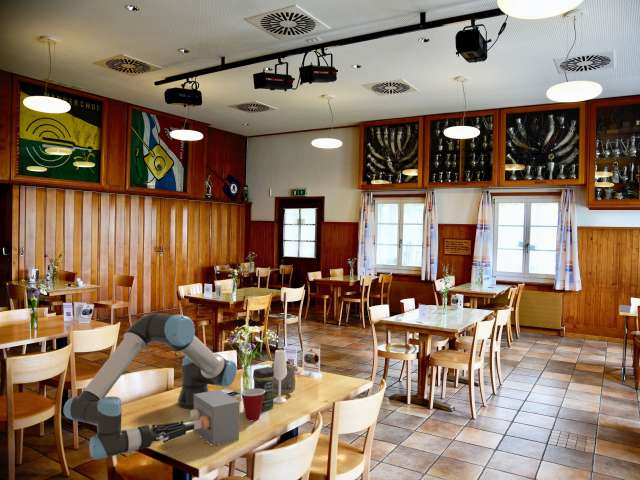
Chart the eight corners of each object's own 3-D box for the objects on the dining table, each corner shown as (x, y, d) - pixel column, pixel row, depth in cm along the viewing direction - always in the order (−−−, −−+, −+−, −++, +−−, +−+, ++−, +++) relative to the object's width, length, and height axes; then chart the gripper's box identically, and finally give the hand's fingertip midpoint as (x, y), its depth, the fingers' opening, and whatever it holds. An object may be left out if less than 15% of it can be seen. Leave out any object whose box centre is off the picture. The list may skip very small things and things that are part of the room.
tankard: (265, 388, 260) (266, 359, 260) (286, 384, 267) (287, 356, 267) (284, 399, 243) (284, 368, 243) (306, 395, 250) (306, 365, 250)
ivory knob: (189, 421, 199) (189, 408, 199) (215, 415, 206) (215, 403, 206) (194, 425, 195) (195, 412, 195) (221, 419, 202) (221, 406, 202)
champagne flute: (273, 403, 237) (274, 352, 237) (271, 398, 244) (272, 349, 244) (287, 402, 239) (288, 352, 238) (285, 397, 245) (286, 349, 245)
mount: (193, 431, 202) (193, 394, 202) (218, 425, 209) (218, 389, 209) (212, 446, 188) (213, 407, 188) (238, 439, 195) (239, 401, 194)
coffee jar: (259, 412, 224) (260, 371, 224) (249, 407, 230) (250, 367, 230) (276, 407, 231) (277, 368, 231) (266, 403, 237) (267, 364, 237)
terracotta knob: (198, 428, 192) (198, 414, 192) (225, 421, 199) (225, 408, 199) (204, 432, 188) (204, 418, 188) (231, 425, 195) (231, 412, 195)
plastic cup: (252, 411, 225) (253, 385, 225) (269, 417, 218) (270, 390, 218) (234, 418, 217) (235, 391, 217) (251, 424, 210) (252, 396, 210)
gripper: (132, 442, 180) (193, 428, 195) (144, 455, 170) (208, 439, 185) (132, 421, 180) (193, 408, 195) (144, 433, 170) (208, 419, 185)
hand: (200, 423), depth 190 cm, fingers closed
